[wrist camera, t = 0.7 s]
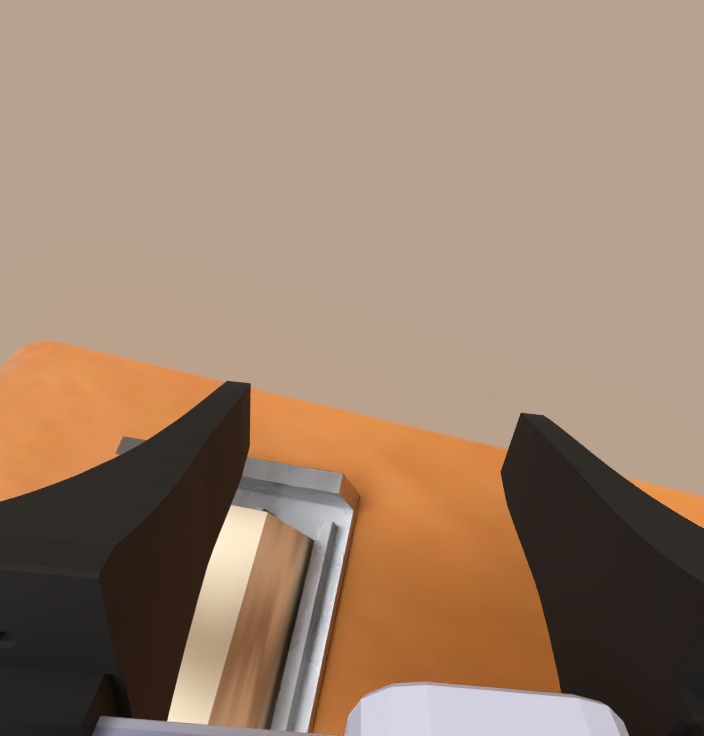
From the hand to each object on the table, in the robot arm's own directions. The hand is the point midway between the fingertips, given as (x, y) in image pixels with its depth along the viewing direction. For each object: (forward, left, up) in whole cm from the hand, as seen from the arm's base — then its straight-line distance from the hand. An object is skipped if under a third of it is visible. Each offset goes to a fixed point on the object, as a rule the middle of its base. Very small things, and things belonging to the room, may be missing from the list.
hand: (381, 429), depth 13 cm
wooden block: (-7, +7, -15) cm, 18 cm away
